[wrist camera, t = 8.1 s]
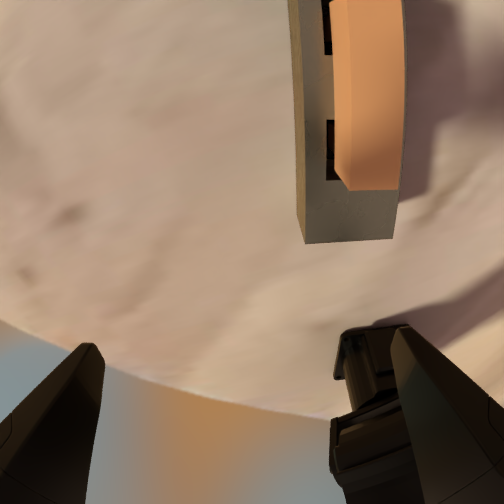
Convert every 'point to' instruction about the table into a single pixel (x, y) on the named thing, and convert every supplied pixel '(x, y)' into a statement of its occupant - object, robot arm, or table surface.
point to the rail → (314, 143)
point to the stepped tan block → (367, 91)
